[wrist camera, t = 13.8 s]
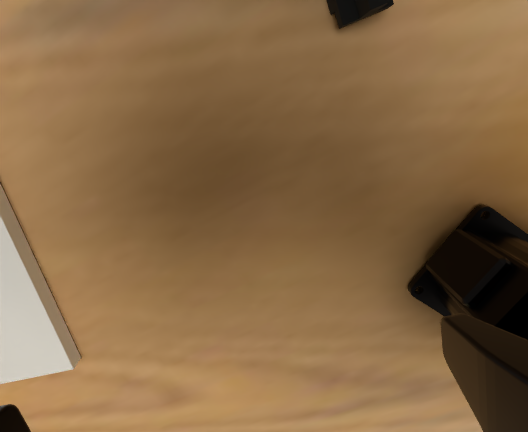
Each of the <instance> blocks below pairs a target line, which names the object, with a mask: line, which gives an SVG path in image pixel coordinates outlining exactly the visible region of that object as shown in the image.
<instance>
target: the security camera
mask: <svg viewBox="0 0 528 432" xmlns="http://www.w3.org/2000/svg"><path fill="white" fill-rule="evenodd" d="M327 4H328V7H329V10H330V14H331V15H332V14H334V13H335V16H336V19H337V23H338V26H339V29H340V28H342V27H345V26H347V25H349V24H352V23H354V22H357V21H359V20H361V19H364V18H366V17H368V16H371V15H373V14H376V13H378V12H380V11H383V10H385V9H388V8H389V7H390V6H392V5H393V4H394V3H393V0H327Z"/></svg>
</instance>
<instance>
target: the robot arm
mask: <svg viewBox="0 0 528 432" xmlns="http://www.w3.org/2000/svg"><path fill="white" fill-rule="evenodd" d="M484 211H485V215H484V216H483V217H481V214H482V212H484ZM417 287H420V289H419V290H417V291H415V289H416V288H417ZM408 290H409V292H410V293H411V295H412V296H413V297H415V298H416V299H418V300H420V301H421V302H423V303H424V304H426V305H427V306H429V307H431V308H432V309H434V310H435V311H437V312H439V313H440V314H442V315H443V316H445V317H443V318H442V319H441V334H442V346H443V354H444V357H445V360H446V362H447V364H448V366H449V368H450V370H451V372H452V374H453V376H454V377H455V379H456V381H457V383H458V385H459V387H460V389H461V390H462V392H463V394H464V396H465V398H466V400H467V402H468V403H469V405H470V407H471V409H472V411H473V413H474V415H475V417H476V418H477V420H478V422H479V424H480V426H481V428H482V430H483V432H528V234H527V233H525V232H524V231H522V230H521V229H520V228H518V227H517V226H516V225H514V224H513V223H512V222H510V221H509V220H507V219H506V218H505V217H503V216H502V215H501V214H499V213H498V212H496V211H495V210H494V209H492V208H491V207H488V206H486V205H479V206H477V207H476V208H474V210H473V211H472V212H471V213H470V214H469V215H468V216H467V218H466V219H465V220H464V221H463V222H462V223H461V225H460V226H459V227H458V228H457V229H456V230H455V231H453V233H452V234H451V235H450V236H449V237H448V238H447V239H446V241H445V242H444V243H443V244H442V245H441V246H440V248H439V249H438V250H437V251H436V252H435V253H434V254H433V256H432V257H431V258H430V259H429V260H428V261H427V263H426V265H425V266H424V267H423V268H422V270H421V271H420V272H419V273H418V274H417V275H416V276H415V278H414V279H413V280H412V281H411V282H410V284H409V285H408ZM0 432H31V431H30V429H29V427H28V425H27V423H26V422H25V420H24V418H23V416H22V415H21V413H20V411H19V409H18V408H17V407H16V406H15V405H12V404H8V405H3V406H0Z"/></svg>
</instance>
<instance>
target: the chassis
mask: <svg viewBox="0 0 528 432" xmlns="http://www.w3.org/2000/svg"><path fill="white" fill-rule="evenodd" d="M80 359H81V356H80V354H79V352H78V350H77V348H76V346H75V343H74V341H73V339H72V337H71V335H70V333H69V330H68V328H67V326H66V324H65V322H64V320H63V317H62V315H61V313H60V311H59V309H58V307H57V305H56V302H55V300H54V298H53V296H52V294H51V292H50V289H49V287H48V285H47V283H46V281H45V279H44V276H43V274H42V272H41V270H40V268H39V266H38V264H37V261H36V259H35V257H34V255H33V253H32V251H31V248H30V246H29V244H28V242H27V240H26V238H25V235H24V233H23V231H22V229H21V227H20V225H19V222H18V220H17V218H16V216H15V214H14V212H13V210H12V207H11V205H10V203H9V201H8V199H7V197H6V194H5V192H4V190H3V188H2V186H1V184H0V384H3V383H8V382H13V381H18V380H23V379H28V378H33V377H38V376H42V375H47V374H52V373H57V372H62V371H67V370H72V369H74V368H75V366H76V365H77V363H78V362H79V360H80Z"/></svg>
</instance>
